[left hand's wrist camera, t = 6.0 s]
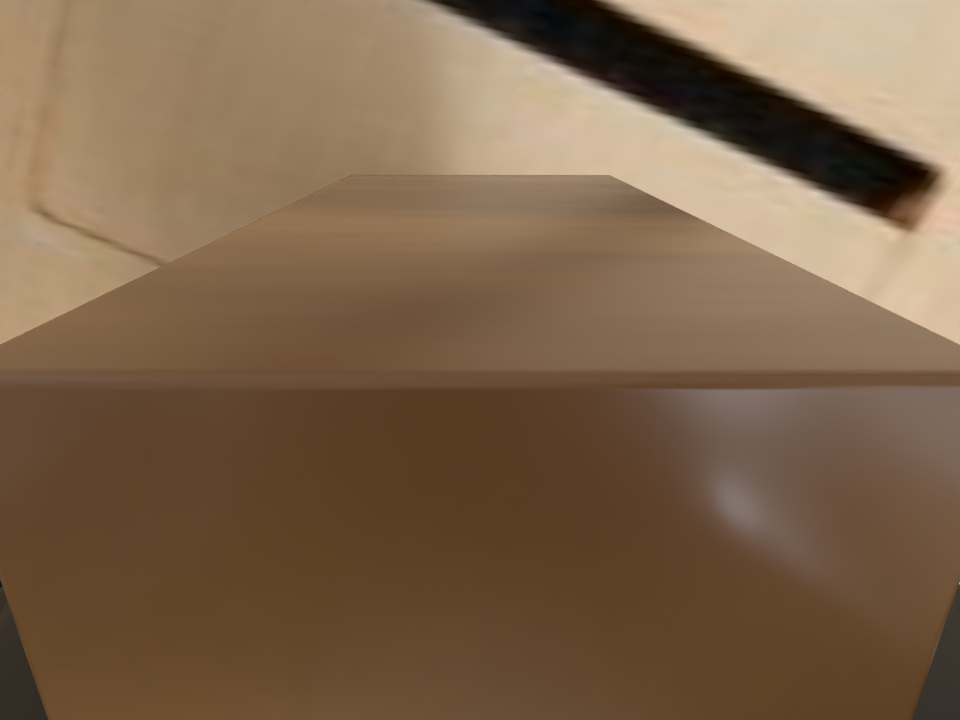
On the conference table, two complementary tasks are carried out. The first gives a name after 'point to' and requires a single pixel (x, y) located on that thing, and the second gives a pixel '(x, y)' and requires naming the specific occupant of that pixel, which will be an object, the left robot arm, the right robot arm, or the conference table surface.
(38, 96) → the conference table surface
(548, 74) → the conference table surface
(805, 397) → the box
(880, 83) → the conference table surface
